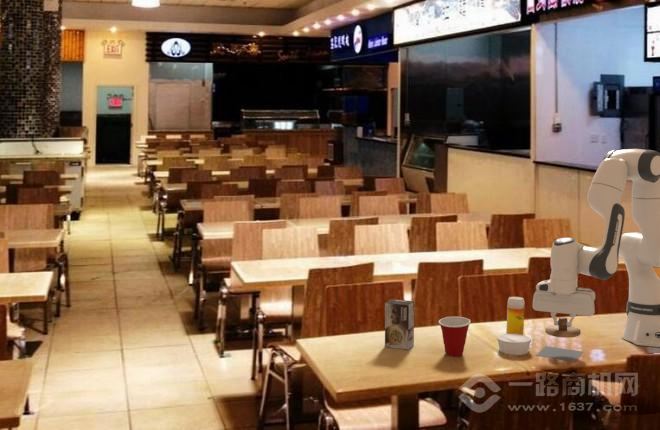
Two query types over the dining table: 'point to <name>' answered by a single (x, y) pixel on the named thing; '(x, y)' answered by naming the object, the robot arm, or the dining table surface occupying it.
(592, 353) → the dining table surface
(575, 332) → the lid
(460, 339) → the plastic cup
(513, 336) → the ramekin
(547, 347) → the mat
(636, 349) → the dining table surface
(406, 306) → the coffee box
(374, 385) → the dining table surface
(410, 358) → the dining table surface
